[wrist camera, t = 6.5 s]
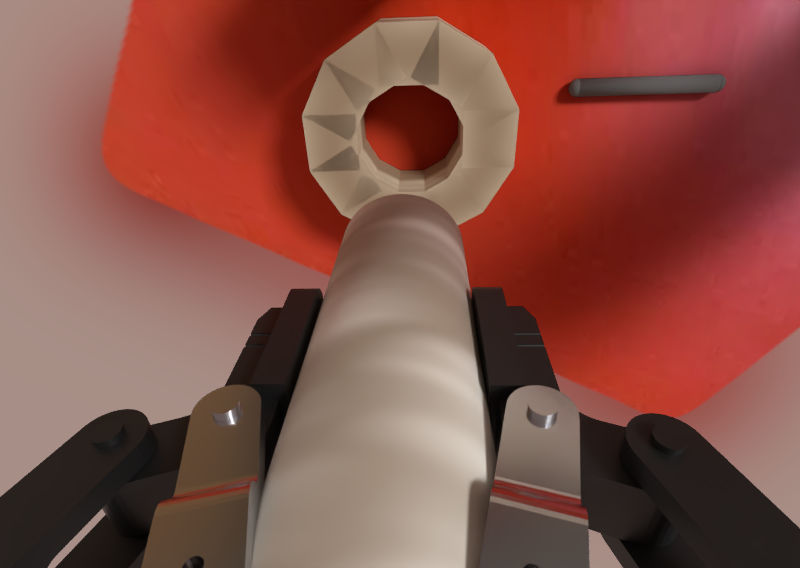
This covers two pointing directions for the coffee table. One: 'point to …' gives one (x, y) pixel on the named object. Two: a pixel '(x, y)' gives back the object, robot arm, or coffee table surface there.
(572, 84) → the dark grey rod
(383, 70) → the bead
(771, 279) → the coffee table surface
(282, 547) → the grey tipped beige rod
